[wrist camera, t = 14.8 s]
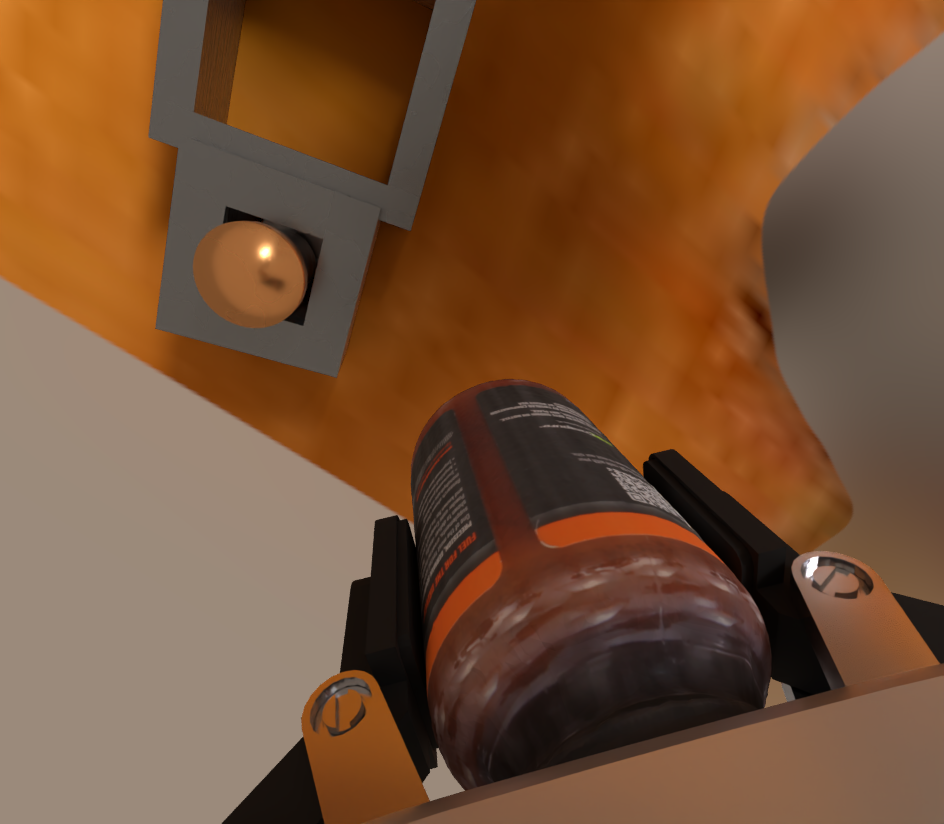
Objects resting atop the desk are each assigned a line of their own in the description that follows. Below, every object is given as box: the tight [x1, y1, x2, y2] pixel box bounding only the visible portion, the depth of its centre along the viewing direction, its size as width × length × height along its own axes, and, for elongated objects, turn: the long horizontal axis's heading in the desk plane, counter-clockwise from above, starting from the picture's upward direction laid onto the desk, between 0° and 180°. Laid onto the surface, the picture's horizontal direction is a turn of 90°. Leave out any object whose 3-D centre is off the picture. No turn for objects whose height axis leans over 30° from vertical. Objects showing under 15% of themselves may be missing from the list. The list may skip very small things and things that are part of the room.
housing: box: [149, 0, 476, 378], centre depth 21 cm, size 26×11×5 cm, turn 161°
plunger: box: [193, 221, 316, 328], centre depth 22 cm, size 4×4×6 cm
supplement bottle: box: [411, 379, 772, 791], centre depth 11 cm, size 6×6×11 cm
